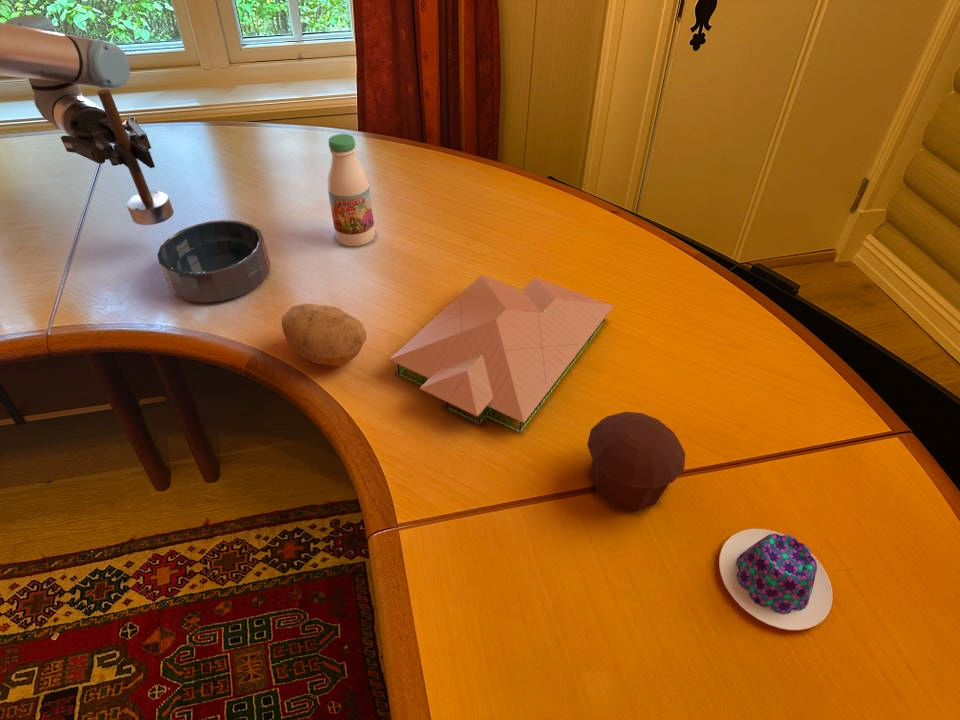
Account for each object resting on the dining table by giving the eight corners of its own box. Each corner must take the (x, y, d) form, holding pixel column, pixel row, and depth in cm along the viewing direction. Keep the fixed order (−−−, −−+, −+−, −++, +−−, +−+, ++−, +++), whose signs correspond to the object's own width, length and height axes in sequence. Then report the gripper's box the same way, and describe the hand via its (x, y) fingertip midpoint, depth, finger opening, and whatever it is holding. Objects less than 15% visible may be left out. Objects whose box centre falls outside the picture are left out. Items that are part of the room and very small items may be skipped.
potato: (312, 323, 101) (302, 284, 95) (382, 349, 96) (377, 310, 90) (271, 358, 94) (259, 318, 89) (345, 388, 90) (337, 349, 84)
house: (379, 386, 90) (373, 345, 84) (494, 277, 110) (495, 239, 105) (512, 452, 81) (515, 411, 76) (610, 321, 102) (618, 281, 96)
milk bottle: (331, 231, 122) (314, 133, 108) (368, 223, 124) (356, 126, 110) (342, 250, 117) (324, 150, 103) (380, 242, 119) (368, 143, 105)
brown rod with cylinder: (124, 223, 109) (69, 97, 94) (146, 204, 114) (96, 82, 99) (161, 226, 108) (110, 100, 93) (181, 207, 113) (136, 85, 98)
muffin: (684, 470, 79) (704, 420, 72) (657, 535, 72) (676, 486, 65) (600, 434, 84) (611, 383, 77) (566, 492, 77) (575, 442, 70)
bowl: (151, 300, 105) (137, 269, 100) (200, 246, 117) (189, 216, 113) (246, 310, 103) (236, 279, 98) (285, 254, 115) (278, 224, 111)
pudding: (697, 578, 68) (709, 554, 65) (748, 514, 74) (762, 489, 71) (800, 657, 62) (820, 636, 58) (847, 580, 68) (868, 556, 65)
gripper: (133, 131, 118) (192, 169, 106) (52, 154, 110) (106, 198, 98) (118, 91, 113) (178, 127, 101) (32, 113, 105) (86, 154, 93)
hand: (142, 162), depth 100 cm, fingers closed on brown rod with cylinder, 2 cm apart
